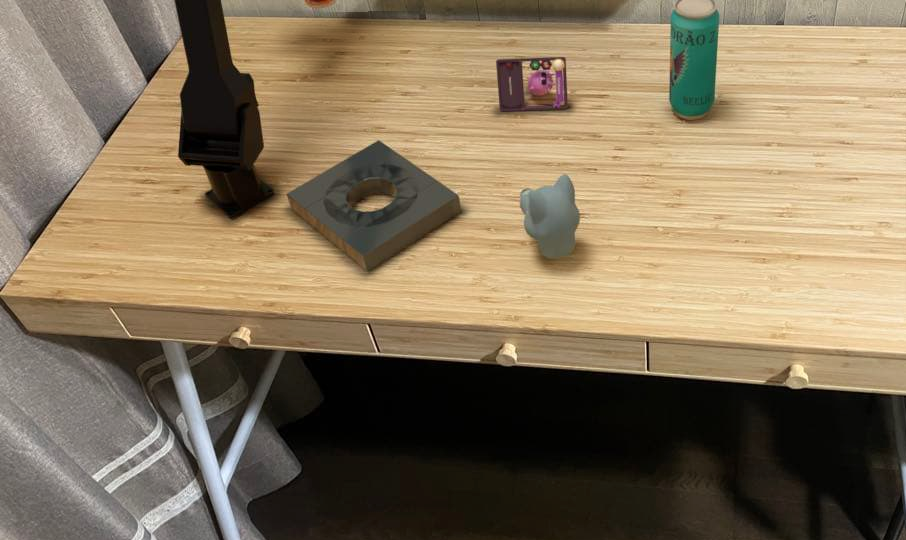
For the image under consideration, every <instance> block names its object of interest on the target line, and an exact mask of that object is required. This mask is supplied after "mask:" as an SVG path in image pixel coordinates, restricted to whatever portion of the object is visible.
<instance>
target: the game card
mask: <svg viewBox="0 0 906 540" xmlns="http://www.w3.org/2000/svg"><path fill="white" fill-rule="evenodd" d="M551 61H552V62H551ZM524 62H530V63H529V65H528V66H529V68H530V69H531V71H535V72H529V75H530V76H526V80H528V81H527V89H528V90H526V93H528V94H529V93H530V94H532V95H533V96H544V95H546V94H548V93H550V91H552V89H553V86H555V92H556V93H555V95H556V97H555V98H556V99H555V100H554V103H553V105H535V106H534V105H533V106H530V105H529V106H526V103H525V89H524V88H525V86H524V74H523V63H524ZM495 65H496V78H497V79H496V80H497V92H498V106H499V111H500V112H514V111H515V112H517V111H542V110H543V111H546V110H567V109H568V107H569V101H568V81H567V80H568V77H567V58H566V57H565V56H552V57H551V56H549V57H548V56H547V57H525V58H524V57H522V58H521V57H520V58H498V59H496V61H495ZM551 67H552V69H553V70H554V73H551V72H550V70H551ZM540 68H541V69H540ZM553 76H555V83H554V79H553ZM560 103H564V104H563V105H561V104H560Z"/></svg>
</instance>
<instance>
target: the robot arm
mask: <svg viewBox="0 0 906 540" xmlns="http://www.w3.org/2000/svg"><path fill="white" fill-rule="evenodd" d="M173 1H174V6H175V11H176V16H177V20H178V24H179V25H178V26H179V31H180V33H181V34H180V35H181V38H182V43H183V48H184V53H185V58H186V62H187V68H188V72H187V75H186V77H185V80H184V83H183V85H182V86H181V87H182V88H181V90H180V92H179V99H180V109H181V110H180V111H181V112H180V126H179V139H178V151H177V158H178V159H179V160H180V162H182V163H183V164H184V166H186V167H187V166H188V167H189V166H196V167H197V166H198V167H202V168H203V170H204V172H205V174H206V175H205V176H206V177H207V180H208V182H209V184H210V187H211V189H209V190H207V191H206V192H205V193H204V195H205V198H206V199H207V200H208V201H209V202H210V203H211V204H213V205H214V206H215V207H216V208H217V209H218V210H220V212H222V213H223V214H224V215H225V216H226V217H227V218H228V219H235V218H237V217H238V216H240V215H242V214H244V213H245V212H248V211H249V210H251V209H252V208H255V206H257V205H259V204H261V203H263V202H264V201H266V200H268V199H270V198H271V197H273V196H274V195H275V190H274V188H272V187H271V186H270V185H268V183H266V182H265V181H263V180H262V179H261V178H260V177H259V174H258V172H257V169H256V166H255V163H256V161H257V160H258V158H259V156H260V155H261V153H262V152H263V150H264V148H265V143H264V136H263V128H262V120H261V114H260V113H261V112H260V110H259V107H260V106H259V102H258V99H257V96H256V89H255V81H254V78H253V76H252V75H251V73H248V72H241V71H240V70H239V69H238V68H237V67H236V66H235V64H234V62H233V56H232V52H231V46H230V41H229V35H228V30H227V25H226V20H225V15H224V9H223V4H222V0H173Z"/></svg>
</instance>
